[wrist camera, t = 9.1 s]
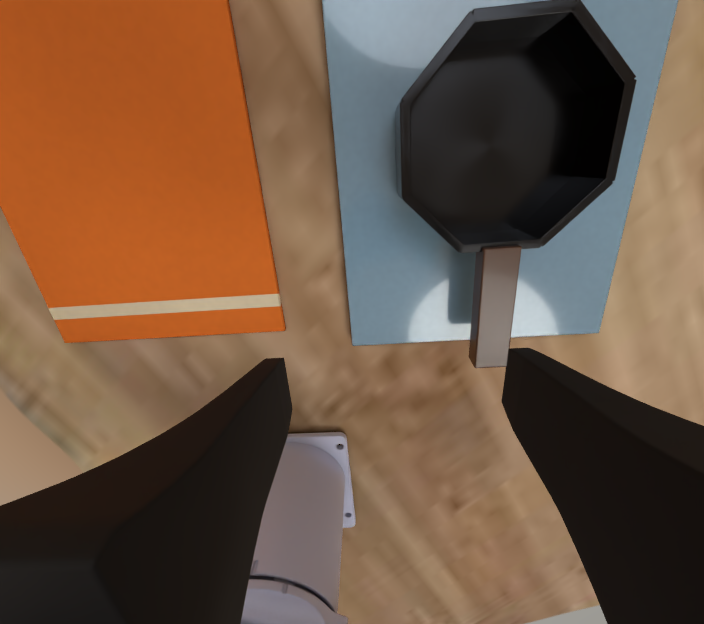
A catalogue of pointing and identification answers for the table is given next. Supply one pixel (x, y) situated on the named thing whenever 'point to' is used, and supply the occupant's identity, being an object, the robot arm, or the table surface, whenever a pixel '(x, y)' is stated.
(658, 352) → the table surface
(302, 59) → the table surface
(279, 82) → the table surface
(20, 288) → the table surface
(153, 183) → the tea towel
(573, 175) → the skillet
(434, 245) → the trivet
